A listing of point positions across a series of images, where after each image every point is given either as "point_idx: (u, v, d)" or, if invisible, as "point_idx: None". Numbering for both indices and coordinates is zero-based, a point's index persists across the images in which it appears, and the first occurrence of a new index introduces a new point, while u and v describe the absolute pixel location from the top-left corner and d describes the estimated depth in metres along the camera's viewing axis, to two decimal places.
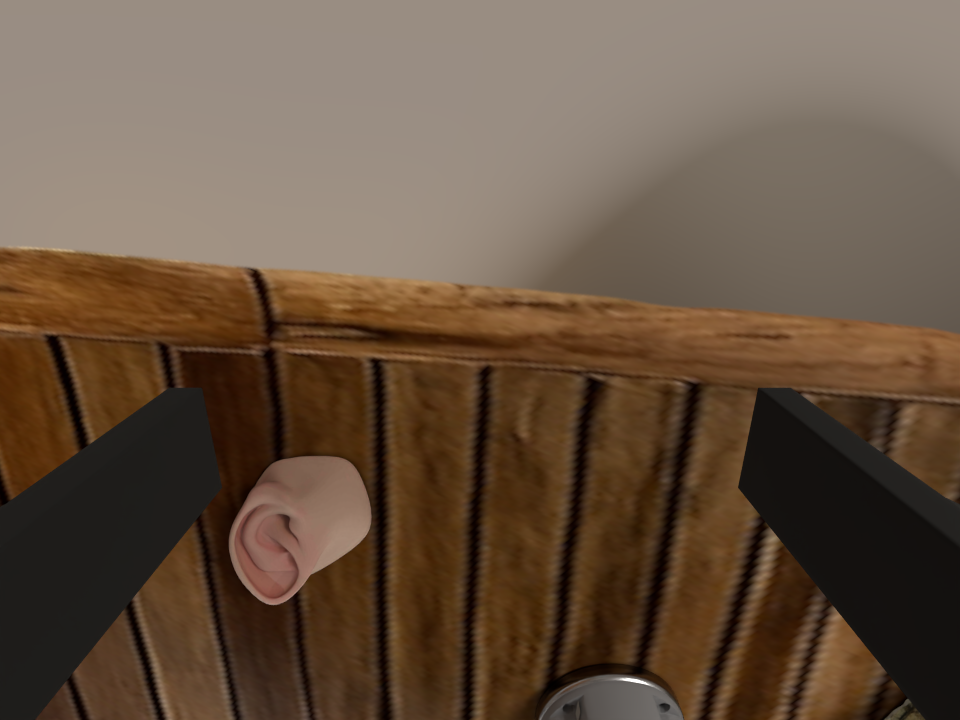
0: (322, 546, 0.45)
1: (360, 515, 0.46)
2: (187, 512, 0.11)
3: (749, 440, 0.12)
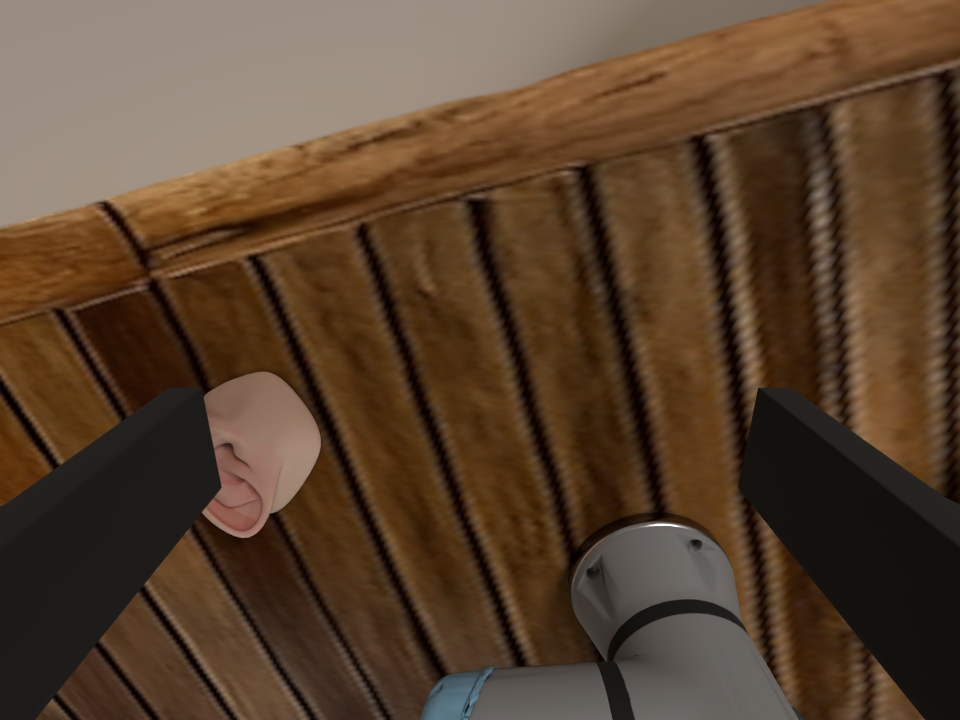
0: (275, 465, 0.44)
1: (303, 425, 0.44)
2: (187, 512, 0.11)
3: (749, 440, 0.12)
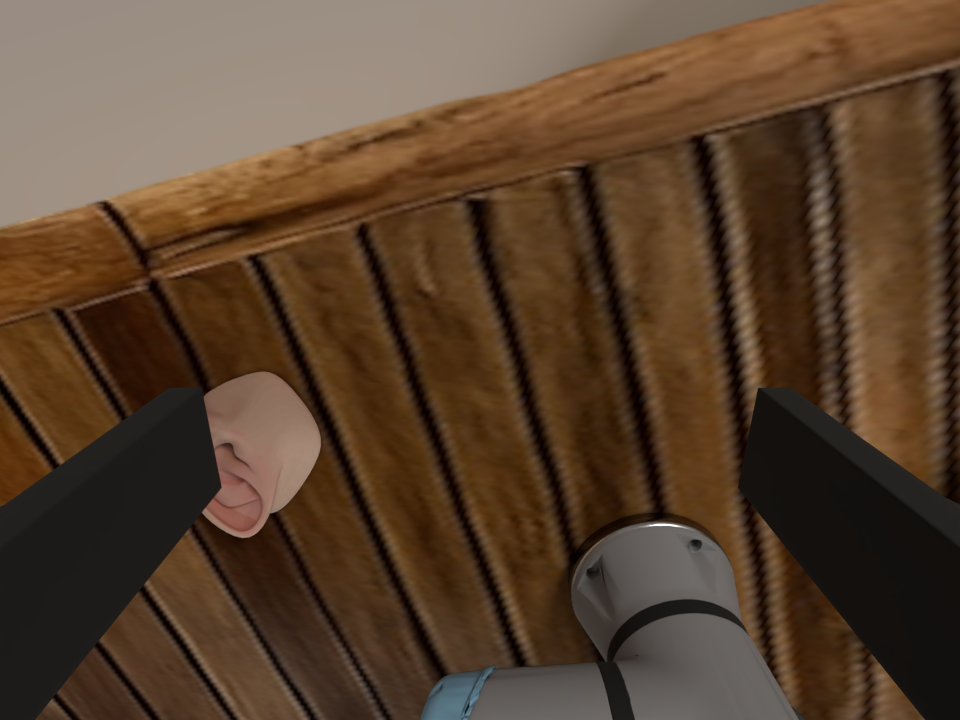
0: (275, 465, 0.44)
1: (303, 425, 0.44)
2: (187, 512, 0.11)
3: (749, 440, 0.12)
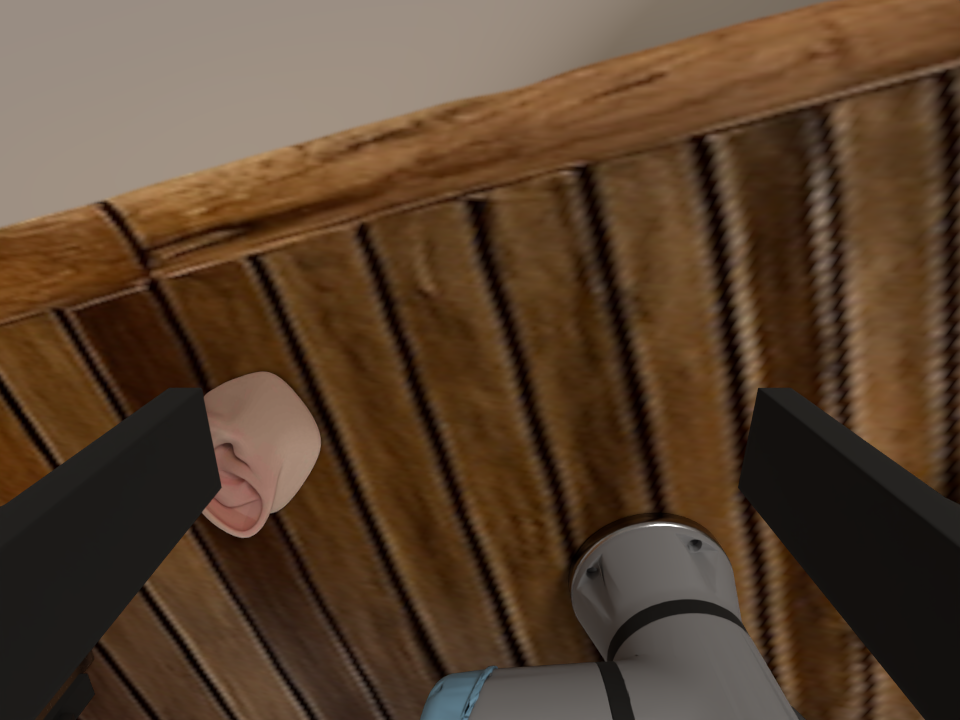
0: (275, 465, 0.44)
1: (303, 425, 0.44)
2: (187, 512, 0.11)
3: (749, 440, 0.12)
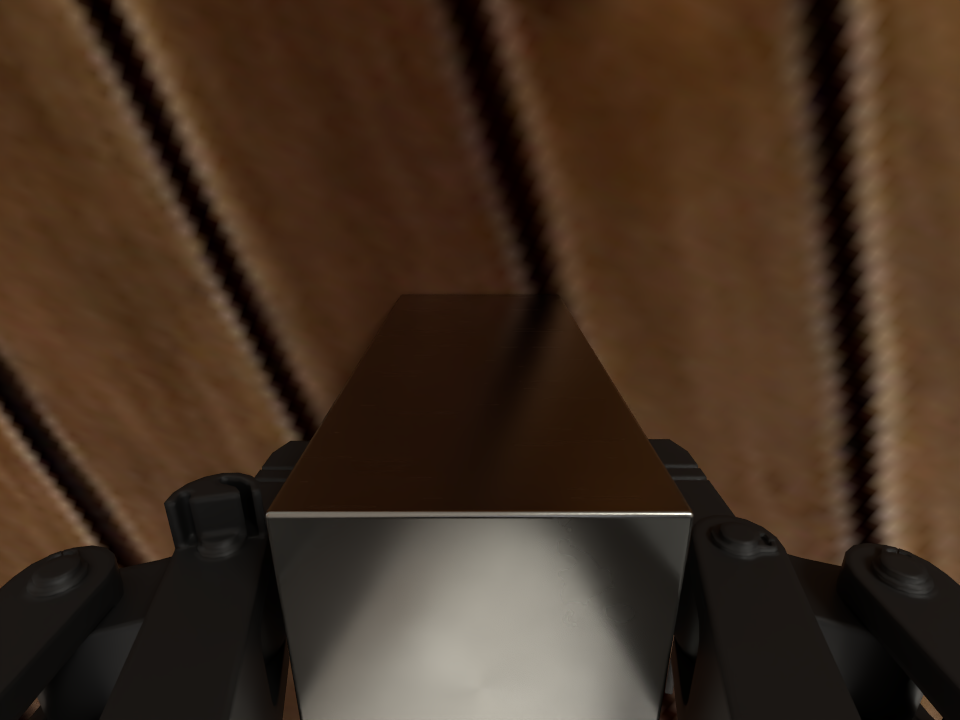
0: None
1: None
2: None
3: None
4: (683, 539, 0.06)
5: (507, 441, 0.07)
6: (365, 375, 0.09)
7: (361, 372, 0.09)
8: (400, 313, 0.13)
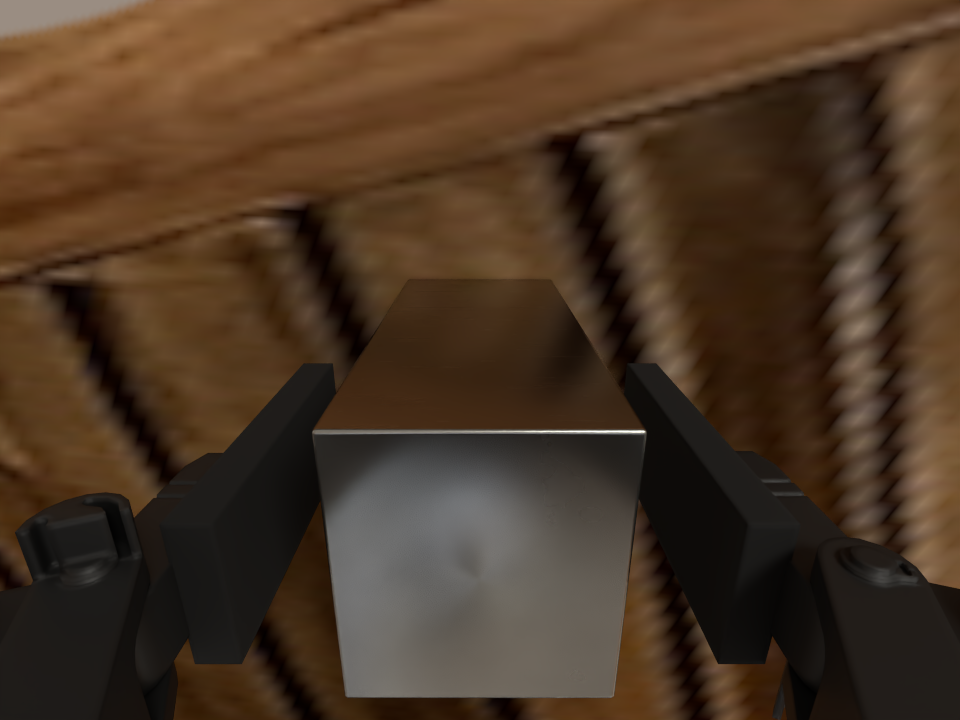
0: None
1: None
2: None
3: None
4: (639, 452, 0.07)
5: (502, 385, 0.09)
6: (381, 340, 0.11)
7: (378, 338, 0.11)
8: (408, 294, 0.15)
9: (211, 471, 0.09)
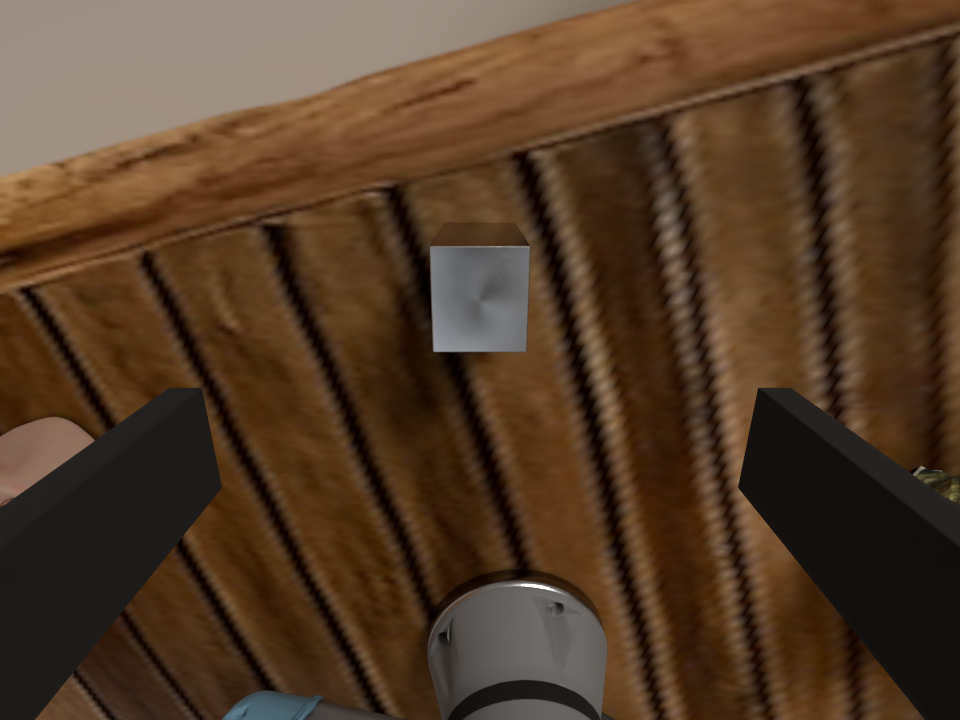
0: None
1: None
2: (187, 512, 0.11)
3: (749, 440, 0.12)
4: (528, 253, 0.24)
5: (487, 241, 0.25)
6: (441, 235, 0.28)
7: (439, 235, 0.28)
8: (446, 227, 0.32)
9: None
